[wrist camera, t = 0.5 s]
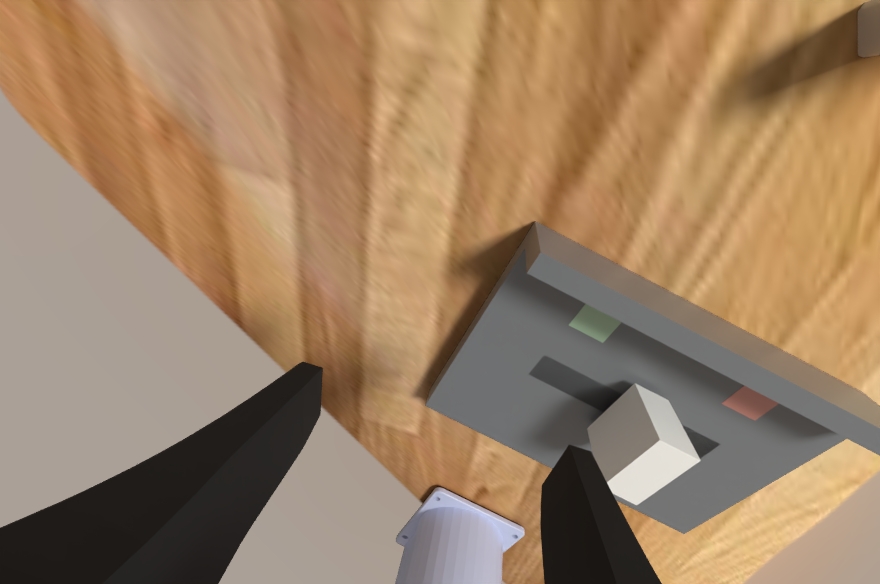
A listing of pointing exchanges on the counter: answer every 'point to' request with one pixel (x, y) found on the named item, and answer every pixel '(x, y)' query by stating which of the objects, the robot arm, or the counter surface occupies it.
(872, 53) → the lighter
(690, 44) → the counter surface
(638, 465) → the knob
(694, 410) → the switch panel
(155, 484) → the robot arm
